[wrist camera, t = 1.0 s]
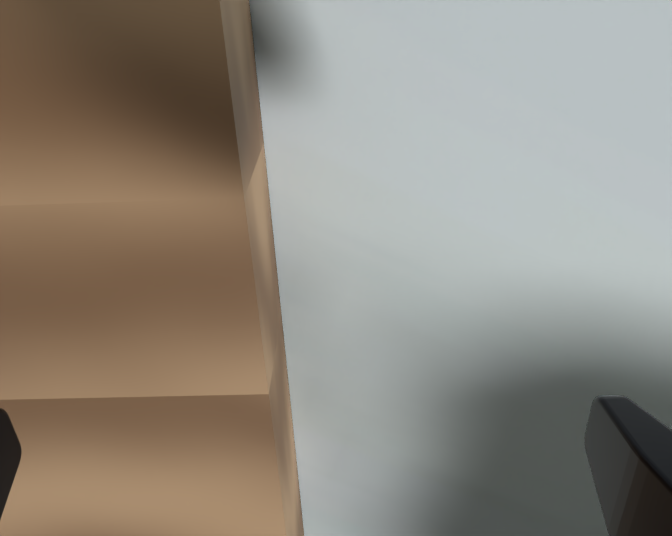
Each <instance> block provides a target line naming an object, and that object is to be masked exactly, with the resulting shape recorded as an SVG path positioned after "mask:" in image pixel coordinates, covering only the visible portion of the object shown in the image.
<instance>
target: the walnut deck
mask: <svg viewBox="0 0 672 536" xmlns="http://www.w3.org/2000/svg"><path fill="white" fill-rule="evenodd" d="M0 408H2V409H4V410H5V411H6V412H7V413H8V415H9V417H10V420H11V422H12V425H13V427H14V430H15V432H16V434H17V437H18V439H19V442H20V444H21V450H22V454H21V460H20V464H19V467H18V470H17V473H16V476H15V479H14V481H13V484H12V487H11V490H10V493H9V496H8V499H7V502H6V505H5V508H4V511H3V514H2V517H1V520H0V536H304V530H303V520H302V511H301V501H300V491H299V481H298V472H297V462H296V452H295V442H294V433H293V423H292V413H291V404H290V394H289V384H288V374H287V365H286V355H285V345H284V335H283V326H282V316H281V306H280V297H279V287H278V277H277V267H276V258H275V248H274V238H273V228H272V219H271V209H270V199H269V190H268V180H267V170H266V160H265V151H264V141H263V131H262V121H261V112H260V102H259V92H258V83H257V73H256V63H255V53H254V44H253V34H252V24H251V14H250V5H249V0H0Z"/></svg>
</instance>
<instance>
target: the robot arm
mask: <svg viewBox="0 0 672 536" xmlns="http://www.w3.org/2000/svg"><path fill="white" fill-rule="evenodd" d="M585 449H586V453H587V457H588V461H589V464H590V468H591V472H592V475H593V479H594V483H595V486H596V490H597V493H598V497H599V501H600V504H601V508H602V512H603V515H604V519H605V523H606V526H607V530H608V533H609V536H672V430H671V429H669V428H668V427H667V426H665V425H664V424H663V423H661V422H660V421H659V420H657V419H656V418H654V417H653V416H652V415H650V414H649V413H648V412H646V411H645V410H644V409H642V408H641V407H639V406H638V405H637V404H635V403H634V402H633V401H631V400H630V399H628V398H627V397H625V396H621V395H603V396H597V397H596V398H595V399H594V400H593V403H592V406H591V410H590V415H589V419H588V424H587V428H586V432H585ZM21 454H22V450H21V444H20V442H19V439H18V437H17V434H16V432H15V430H14V427H13V425H12V422H11V420H10V417H9V415H8V413H7V412H6V411H5V410H4V409H2V408H0V520H1V517H2V514H3V511H4V508H5V505H6V502H7V499H8V496H9V493H10V490H11V487H12V484H13V481H14V479H15V476H16V473H17V470H18V467H19V464H20V460H21Z"/></svg>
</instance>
